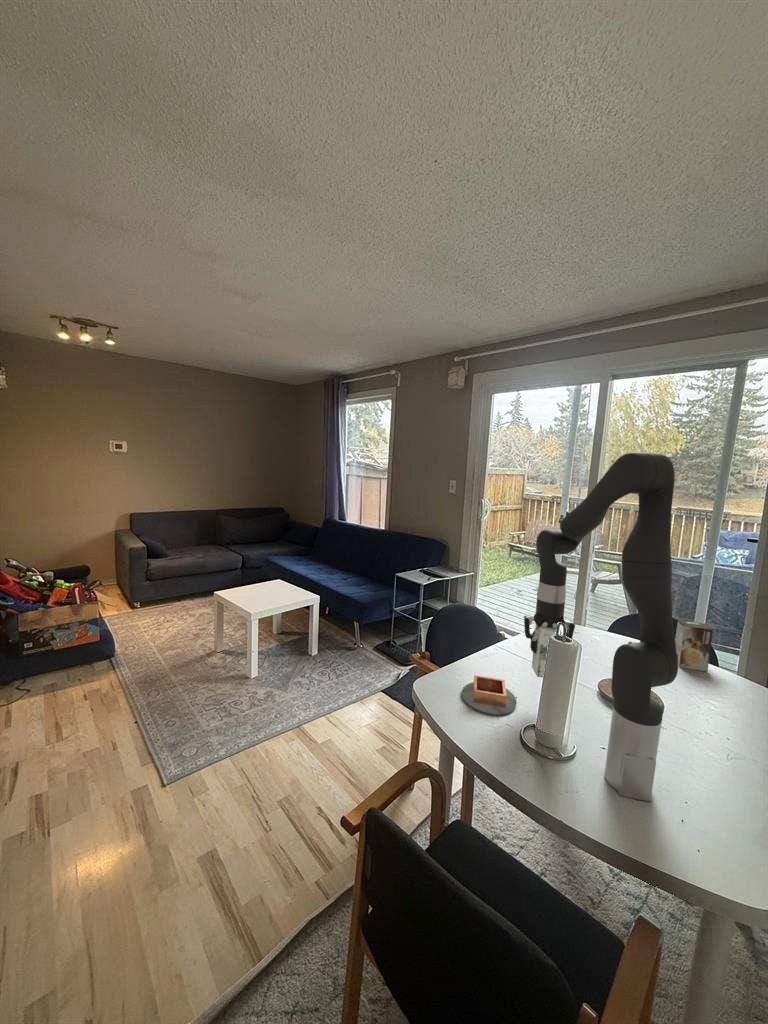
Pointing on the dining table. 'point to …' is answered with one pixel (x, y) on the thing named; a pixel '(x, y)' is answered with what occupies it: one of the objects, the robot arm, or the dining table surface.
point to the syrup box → (541, 650)
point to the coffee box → (693, 645)
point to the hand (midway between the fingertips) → (546, 653)
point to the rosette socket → (489, 696)
